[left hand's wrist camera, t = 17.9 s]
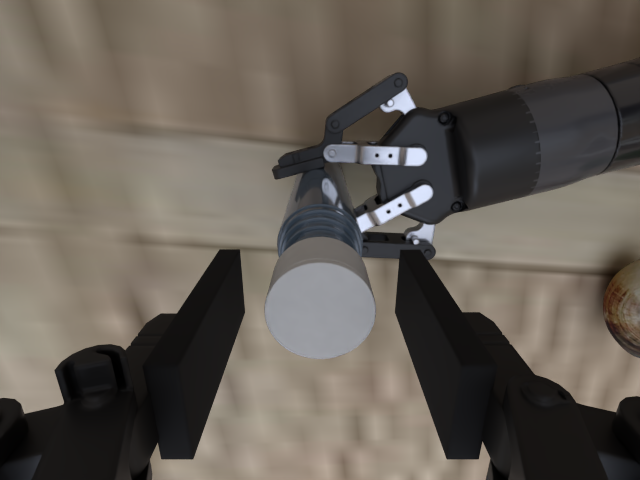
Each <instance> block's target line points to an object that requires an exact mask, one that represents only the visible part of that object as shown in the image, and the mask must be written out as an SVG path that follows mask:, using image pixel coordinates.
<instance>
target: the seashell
mask: <svg viewBox="0 0 640 480" xmlns="http://www.w3.org/2000/svg"><path fill="white" fill-rule="evenodd" d="M603 313H604V318H605V322H606V325H607V327H608V330H609V331H610V333H611V335H612V336H613V337H614V339H615V340H616V341H617V342H618V344H619V345H620V346H621V347H622V348H623V349H625V350H626V351H627V352H628V353H630V354H631V355H633V356H635V357H638V358H640V259H639V260H637V261H634V262H632V263H630V264H629V265H627V266H625V267H624V268H623V269H621V270H620V271H619V272H618V273H617V274H616V275H615V276H614V277H613V279H612V280H611V282H610V283H609V285H608V287H607V289H606V292H605V295H604V301H603Z"/></svg>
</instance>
